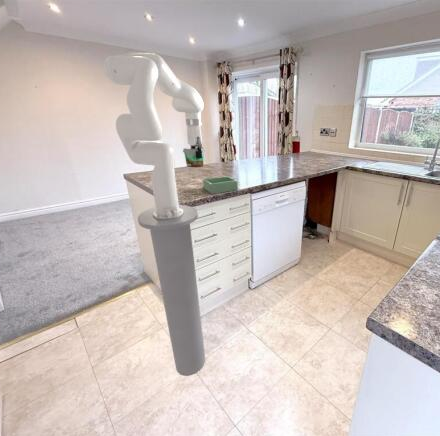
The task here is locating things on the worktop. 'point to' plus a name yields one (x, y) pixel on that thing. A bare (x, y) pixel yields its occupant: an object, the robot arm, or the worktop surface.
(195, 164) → the food container
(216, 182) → the tub
